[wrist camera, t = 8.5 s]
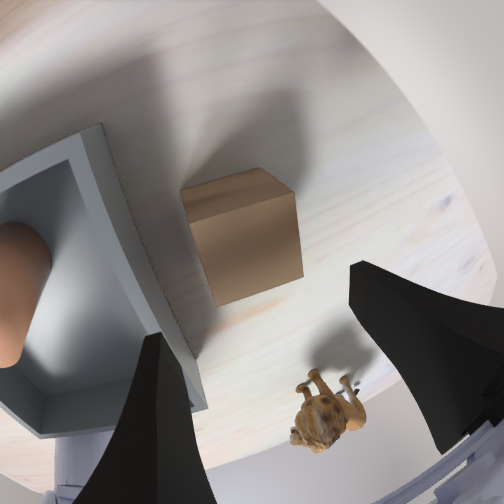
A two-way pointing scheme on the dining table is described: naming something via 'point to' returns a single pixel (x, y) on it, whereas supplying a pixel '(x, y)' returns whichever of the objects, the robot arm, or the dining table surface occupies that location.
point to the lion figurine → (326, 415)
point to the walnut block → (244, 234)
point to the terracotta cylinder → (20, 285)
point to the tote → (84, 293)
